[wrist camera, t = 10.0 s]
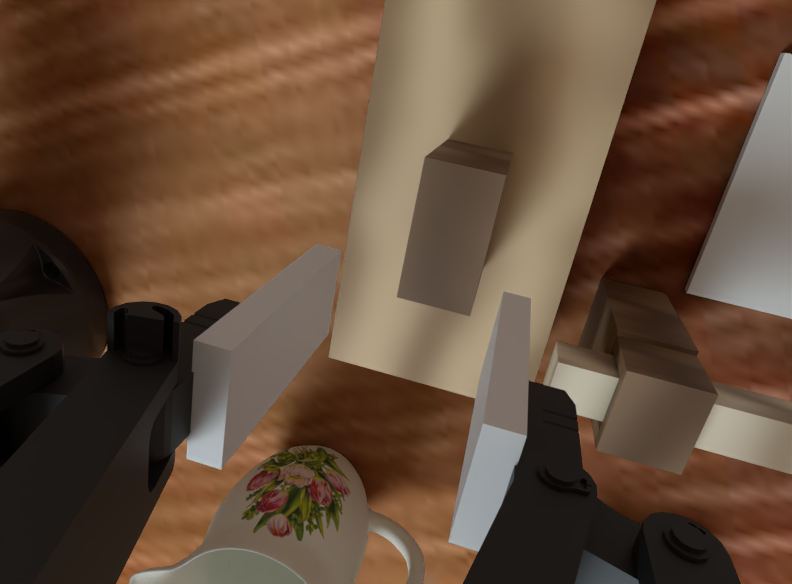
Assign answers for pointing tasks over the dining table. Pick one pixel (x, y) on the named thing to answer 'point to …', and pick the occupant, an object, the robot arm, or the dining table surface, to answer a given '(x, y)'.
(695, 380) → the light wood open box
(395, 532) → the pitcher
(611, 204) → the dining table surface
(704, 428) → the beige wooden bar
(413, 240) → the lid
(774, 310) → the light grey flat board
